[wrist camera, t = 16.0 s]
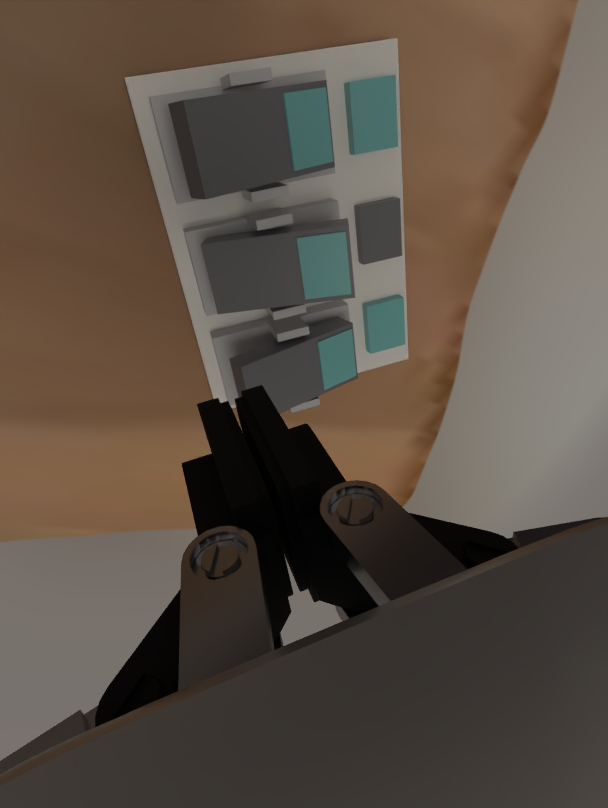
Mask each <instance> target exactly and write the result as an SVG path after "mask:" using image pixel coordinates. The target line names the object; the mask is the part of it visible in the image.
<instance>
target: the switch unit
mask: <svg viewBox="0 0 608 808" xmlns="http://www.w3.org/2000/svg"><path fill="white" fill-rule="evenodd" d="M322 80H327V91H328V101H329V111H330V121H331V131H332V142H333V152H334V162H335V167H333V168H329V169H325V170H321V171H317V172H313V173H309V174H305V175H302V176H298V177H294V178H290V179H286V180H282V181H278V182H274V183H270V184H266V185H262V186H258V187H254V188H250V189H246V190H242V191H238V192H234V193H230V194H226V195H222V196H218V197H214V198H210V199H195V198H191V196H190V192H189V188H188V184H187V180H186V176H185V172H184V168H183V163H182V159H181V155H180V151H179V147H178V143H177V139H176V135H175V131H174V127H173V123H172V118H171V114H170V110H169V106H168V104H169V103H173V102H177V101H181V100H187V99H194V98H201V97H209V96H216V95H223V94H230V93H237V92H244V91H251V90H258V89H265V88H272V87H279V86H286V85H293V84H301V83H308V82H315V81H322ZM125 83H126V87H127V91H128V94H129V98H130V101H131V105H132V109H133V112H134V116H135V119H136V123H137V127H138V130H139V134H140V137H141V141H142V145H143V148H144V152H145V155H146V159H147V163H148V166H149V170H150V173H151V177H152V181H153V184H154V188H155V191H156V195H157V199H158V202H159V206H160V209H161V213H162V217H163V220H164V224H165V227H166V231H167V235H168V238H169V242H170V245H171V249H172V253H173V256H174V260H175V263H176V267H177V271H178V274H179V278H180V281H181V285H182V289H183V292H184V296H185V299H186V303H187V307H188V310H189V314H190V317H191V321H192V325H193V328H194V332H195V335H196V339H197V343H198V346H199V350H200V353H201V357H202V361H203V364H204V368H205V371H206V375H207V379H208V382H209V386H210V389H211V393H212V397H213V399H216V398H219V401H220V403H222V402H226V401H229V404H230V406H231V408H235V407H236V404H235V399H236V398H239V397H238V393H237V389H236V385H235V381H234V376H233V372H232V368H231V364H230V360H229V359H230V358H232V357H235V356H238V355H240V354H243V353H245V352H248V351H251V350H253V349H256V348H258V347H261V346H263V345H266V344H269V343H271V342H274V341H276V340H277V341H278V342H281V341H284V340H288V339H292V338H296V337H300V336H304V335H307V334H310V333H309V328H310V327H312V326H315V325H318V324H320V323H323V322H325V321H328V320H331V319H333V318H336V317H340V318H342V319H345V320H347V321H350V322H352V323H353V332H354V342H355V353H356V363H357V373H359V372H363V371H366V370H370V369H374V368H377V367H381V366H384V365H388V364H391V363H395V362H398V361H402V360H405V359H408V336H407V306H406V276H405V246H404V217H403V187H402V157H401V127H400V97H399V67H398V38H394V39H388V40H381V41H374V42H367V43H360V44H353V45H346V46H339V47H332V48H325V49H318V50H312V51H305V52H298V53H291V54H284V55H277V56H270V57H263V58H256V59H249V60H242V61H235V62H229V63H222V64H215V65H208V66H201V67H194V68H187V69H180V70H173V71H166V72H159V73H153V74H146V75H139V76H132V77H125ZM345 218H348V223H349V233H350V244H351V255H352V266H353V277H354V289H355V298H349V299H341V300H333V301H325V302H316V303H308V304H300V305H291V306H283V307H275V308H267V309H258V310H250V311H242V312H234V313H225V314H218V313H217V309H216V305H215V301H214V297H213V293H212V289H211V285H210V281H209V277H208V273H207V269H206V265H205V261H204V257H203V253H202V248H201V244H202V243H203V242H204V240H205V239H206V238H208V237H216V236H223V235H230V234H237V233H245V232H252V231H259V230H266V229H273V228H281V227H288V226H295V225H302V224H309V223H317V222H324V221H331V220H338V219H345ZM317 405H320V401H319V398H318V396H317V397H315V398H313V399H311V400H308V401H306V402H304V403H302V404H300V405H297V406H295V407H293V408H291V409H289V410H290V412H291V413H293V412H297V411H300V410H304V409H307V408H311V407H314V406H317Z"/></svg>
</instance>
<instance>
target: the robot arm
mask: <svg viewBox="0 0 608 808" xmlns="http://www.w3.org/2000/svg"><path fill="white" fill-rule="evenodd" d="M241 396H242V397H239V398H236V399H235V404H236V408H237V412H238V416H239V420H240V424H241V428H242V431H241V428H240V426H239V424H238V422H237V419H236V417H235V415H234V413H233V410H232V408H231V406H230V404H229V401H226V402H222V403H220V401H219V398H216V399H212V400H209V401H205V402H202V403H199V404H197V406H198V409H199V413H200V416H201V419H202V422H203V426H204V429H205V432H206V436H207V439H208V442H209V445H210V449H211V452H212V454H209V455H206V456H203V457H199V458H196V459H193V460H190V461H187V462H184V463H182V468H183V472H184V477H185V481H186V485H187V490H188V494H189V499H190V503H191V507H192V512H193V516H194V521H195V525H196V529H197V534H198V536H197V537H196V538H195V539H194V540H193V541H192V542H191V543H190V544H189V545H188V547H187V549H186V550H185V552H184V554H183V558H182V562H181V589H180V590H179V592H178V593H177V594H176V596H175V597H174V599H173V600H172V601H171V603H170V604H169V605H168V607H167V608H166V609H165V611H164V612H163V613H162V615H161V616H160V617H159V619H158V620H157V621H156V623H155V624H154V625H153V627H152V628H151V630H150V631H149V632H148V634H147V635H146V636H145V638H144V639H143V640H142V642H141V643H140V644H139V646H138V647H137V648H136V650H135V651H134V653H133V654H132V655H131V656H130V658H129V659H128V661H127V662H126V663H125V665H124V666H123V667H122V669H121V670H120V671H119V673H118V674H117V675H116V677H115V678H114V679H113V681H112V682H111V683H110V685H109V686H108V688H107V689H106V691H105V693H104V694H103V696H102V698H101V700H100V702H99V705H98V706H97V707H95V708H93V709H92V710H90V711H89V712H87V713H86V714H83V713H82V711H81V710H79V711H77V712H76V713H74V714H73V715H71V716H70V717H68V718H67V719H65V720H63V721H62V722H60V723H59V724H57V725H56V726H54V727H53V728H51V729H49V730H48V731H46V732H45V733H43V734H42V735H40V736H39V737H37V738H35V739H34V740H32V741H31V742H30V743H28V744H26V745H24V746H23V747H21V748H20V749H18V750H17V751H15V752H14V753H12V754H10V755H9V756H7V757H6V758H4V759H3V760H1V761H0V808H608V517H601V518H592V519H586V520H581V521H575V522H569V523H563V524H558V525H551V526H546V527H540V528H534V529H528V530H523V531H516V532H513V538H508V539H507V538H505V537H504V536H501V535H499V534H496V533H493V532H490V531H485V530H481V529H477V528H472V527H468V526H464V525H459V524H455V523H451V522H446V521H442V520H438V519H433V518H429V517H425V516H420V515H416V514H411V513H408V512H407V511H406V510H405V509H404V508H403V507H402V506H401V505H399V504H398V503H397V502H396V501H395V500H394V499H393V498H392V497H391V496H390V495H389V494H388V493H387V492H386V491H385V490H384V489H382V488H381V487H379V486H378V485H376V484H373V483H370V482H367V481H359V480H355V481H346V480H345V479H344V477H343V476H342V474H341V473H340V471H339V470H338V468H337V467H336V465H335V464H334V462H333V461H332V459H331V458H330V456H329V455H328V453H327V452H326V450H325V449H324V447H323V446H322V444H321V443H320V441H319V440H318V438H317V437H316V435H315V434H314V432H313V431H312V429H311V428H310V427H309V425H308V424H303V425H300V426H296V427H293V428H290V429H288V428H287V426H286V424H285V423H284V421H283V419H282V417H281V416H280V414H279V412H278V411H277V409H276V407H275V406H274V404H273V402H272V401H271V399H270V397H269V396H268V394H267V392H266V390H265V389H264V387H263V386H262V385H260V386H256V387H253V388H249V389H246V390H243V391H241ZM242 432H243V433H242ZM284 555H285V556H284ZM285 557H286V559H287V562H288V564H289V567H290V569H291V571H292V574H293V576H294V579H295V581H296V583H297V586H298V588H299V590H300V591H304V590H306V589H309V592H310V594H311V596H312V599H313V601H314V602H316V601H319V600H320V601H323V602H326V603H330V604H332V605H335V606H336V610H337V613H338V615H339V617H340V619H341V620H342V621H343V622H340V623H338V624H335V625H333V626H331V627H328V628H326V629H324V630H321V631H319V632H316V633H314V634H312V635H309V636H307V637H304V638H302V639H300V640H297V641H295V642H293V643H290V644H288V645H286V646H283V641H282V638H281V634H280V632H281V630H282V628H283V626H284V624H285V622H286V620H287V619H288V617H289V615H290V613H291V608H290V604H289V600H288V597H289V596H291V595H293V590H292V586H291V582H290V577H289V574H288V569H287V565H286V560H285Z"/></svg>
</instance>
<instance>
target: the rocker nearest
mask: <svg viewBox="0 0 608 808" xmlns="http://www.w3.org/2000/svg"><path fill="white" fill-rule="evenodd" d="M168 106H169V110H170V114H171V118H172V123H173V127H174V131H175V135H176V139H177V143H178V147H179V151H180V155H181V159H182V163H183V168H184V172H185V176H186V180H187V184H188V188H189V192H190V196H191V198H195V199H210V198H214V197H218V196H222V195H226V194H230V193H234V192H238V191H242V190H246V189H250V188H254V187H258V186H262V185H266V184H270V183H274V182H278V181H282V180H286V179H290V178H294V177H298V176H302V175H305V174H309V173H313V172H317V171H321V170H325V169H329V168H333V167H335V162H334V152H333V142H332V131H331V121H330V111H329V101H328V91H327V80H322V81H315V82H308V83H301V84H293V85H286V86H279V87H272V88H265V89H258V90H251V91H244V92H237V93H230V94H223V95H216V96H209V97H201V98H194V99H187V100H181V101H177V102H173V103H169V104H168Z"/></svg>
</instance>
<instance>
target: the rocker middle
mask: <svg viewBox="0 0 608 808" xmlns="http://www.w3.org/2000/svg"><path fill="white" fill-rule="evenodd" d="M201 248H202V253H203V257H204V261H205V265H206V269H207V273H208V277H209V281H210V285H211V289H212V293H213V297H214V301H215V305H216V309H217V313H218V314H225V313H234V312H242V311H250V310H258V309H267V308H275V307H283V306H291V305H300V304H308V303H316V302H325V301H333V300H341V299H349V298H355V289H354V277H353V266H352V255H351V244H350V233H349V223H348V218H345V219H338V220H331V221H324V222H317V223H309V224H302V225H295V226H288V227H281V228H273V229H266V230H259V231H252V232H245V233H237V234H230V235H223V236H216V237H208V238H206V239H205V240H204V242H203V243H202V244H201Z"/></svg>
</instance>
